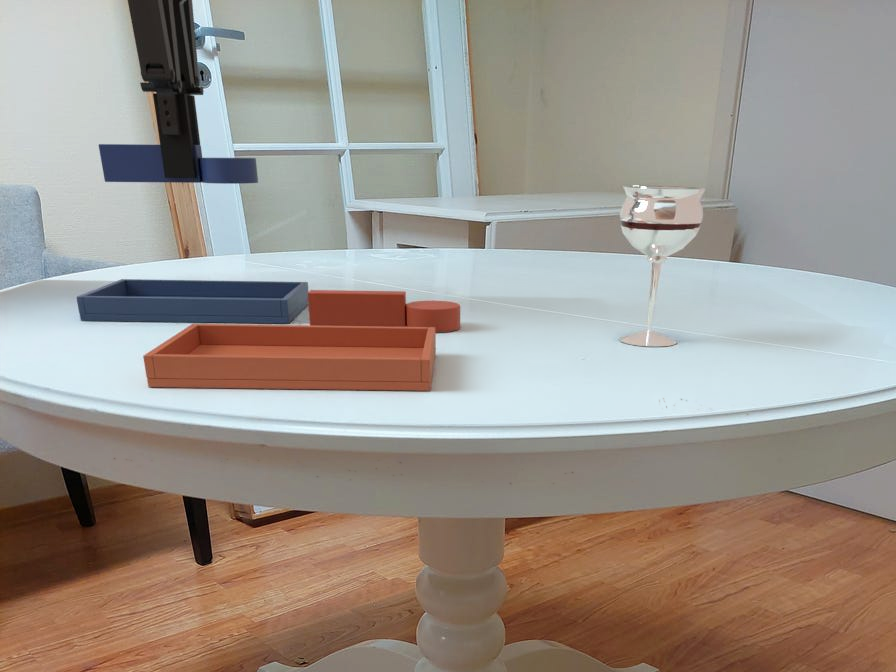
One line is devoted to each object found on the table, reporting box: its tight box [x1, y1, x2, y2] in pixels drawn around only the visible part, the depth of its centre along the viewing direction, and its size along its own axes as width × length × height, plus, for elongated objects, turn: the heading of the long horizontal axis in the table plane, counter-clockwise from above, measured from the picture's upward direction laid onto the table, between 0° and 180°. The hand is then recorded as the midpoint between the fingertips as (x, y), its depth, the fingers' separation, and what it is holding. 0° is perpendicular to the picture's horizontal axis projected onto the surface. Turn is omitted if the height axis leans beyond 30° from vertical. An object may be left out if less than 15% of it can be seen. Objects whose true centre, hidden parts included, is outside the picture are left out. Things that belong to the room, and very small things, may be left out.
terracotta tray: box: [142, 323, 437, 392], centre depth 65 cm, size 19×12×2 cm, turn 91°
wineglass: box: [618, 185, 707, 348], centre depth 75 cm, size 7×7×12 cm
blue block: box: [98, 143, 259, 185], centre depth 81 cm, size 14×5×3 cm, turn 90°
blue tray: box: [75, 278, 310, 325], centre depth 87 cm, size 19×12×2 cm, turn 91°
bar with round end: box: [307, 289, 461, 333], centre depth 81 cm, size 14×5×3 cm, turn 91°
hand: (184, 177), depth 81 cm, fingers closed on blue block, 2 cm apart
